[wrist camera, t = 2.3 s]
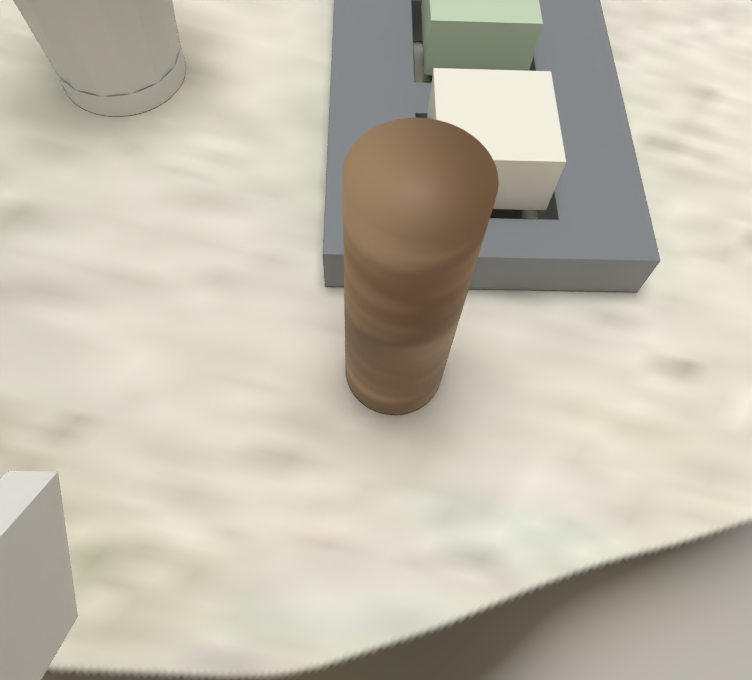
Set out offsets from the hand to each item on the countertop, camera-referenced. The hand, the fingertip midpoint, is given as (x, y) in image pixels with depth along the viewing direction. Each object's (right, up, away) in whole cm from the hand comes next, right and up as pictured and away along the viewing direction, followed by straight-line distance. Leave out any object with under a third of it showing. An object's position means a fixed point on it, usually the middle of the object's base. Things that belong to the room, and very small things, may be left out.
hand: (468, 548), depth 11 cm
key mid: (+3, +18, +22) cm, 29 cm away
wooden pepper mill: (-1, +2, +17) cm, 17 cm away
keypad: (+3, +17, +25) cm, 30 cm away
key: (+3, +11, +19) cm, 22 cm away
